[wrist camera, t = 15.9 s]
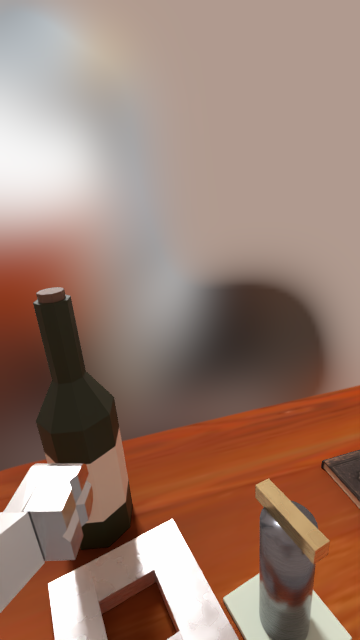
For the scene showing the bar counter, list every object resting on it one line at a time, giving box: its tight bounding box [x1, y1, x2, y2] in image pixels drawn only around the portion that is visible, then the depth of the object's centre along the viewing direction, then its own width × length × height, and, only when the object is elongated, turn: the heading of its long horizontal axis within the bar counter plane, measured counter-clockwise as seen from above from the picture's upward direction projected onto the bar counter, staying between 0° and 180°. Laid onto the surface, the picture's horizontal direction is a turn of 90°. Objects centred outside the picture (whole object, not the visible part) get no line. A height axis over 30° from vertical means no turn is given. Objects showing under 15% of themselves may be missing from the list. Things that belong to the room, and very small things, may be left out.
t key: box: [256, 479, 330, 640], centre depth 28 cm, size 6×4×13 cm
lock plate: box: [48, 519, 239, 640], centre depth 31 cm, size 14×14×2 cm
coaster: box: [223, 573, 352, 640], centre depth 31 cm, size 8×8×1 cm
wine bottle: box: [33, 287, 132, 550], centre depth 37 cm, size 8×8×30 cm
